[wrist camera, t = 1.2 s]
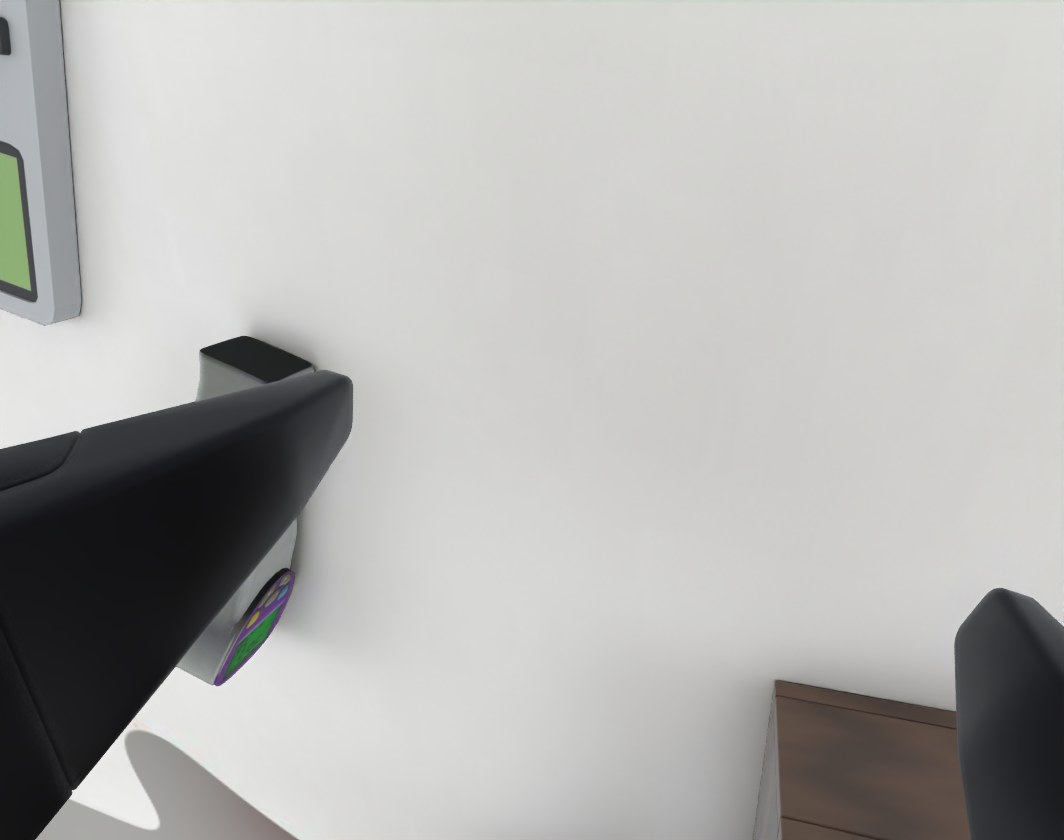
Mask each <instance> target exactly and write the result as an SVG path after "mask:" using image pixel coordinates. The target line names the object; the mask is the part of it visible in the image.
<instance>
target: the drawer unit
mask: <svg viewBox="0 0 1064 840" xmlns="http://www.w3.org/2000/svg"><path fill="white" fill-rule="evenodd" d="M753 840H971V839H970V832H969V826H968V819H967V812H966V806H965V799H964V792H963V786H962V779H961V772H960V764H959V756H958V743H957V717H956V712H950V711H944V710H939V709H933V708H928V707H922V706H917V705H911V704H906V703H900V702H894V701H889V700H883V699H878V698H872V697H867V696H861V695H856V694H850V693H844V692H839V691H833V690H828V689H822V688H817V687H811V686H806V685H800V684H795V683H789V682H783V681H778V680H775V684H774V691H773V698H772V706H771V713H770V720H769V727H768V734H767V741H766V749H765V756H764V763H763V770H762V777H761V784H760V792H759V799H758V806H757V813H756V820H755V827H754V834H753Z"/></svg>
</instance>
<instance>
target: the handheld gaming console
mask: <svg viewBox="0 0 1064 840" xmlns="http://www.w3.org/2000/svg"><path fill="white" fill-rule="evenodd" d="M81 303H82V302H81V288H80V275H79V261H78V248H77V235H76V221H75V208H74V194H73V181H72V167H71V154H70V140H69V127H68V113H67V100H66V86H65V73H64V59H63V46H62V33H61V19H60V6H59V0H0V309H2V310H4V311H7V312H10V313H12V314H15V315H17V316H20V317H23V318H25V319H28V320H31V321H33V322H36V323H39V324H41V325H44V326H45V325H49V324H53V323H56V322H60V321H63V320H67V319H71V318H74V317H76V316H79V314H80V308H81Z"/></svg>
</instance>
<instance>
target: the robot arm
mask: <svg viewBox="0 0 1064 840" xmlns="http://www.w3.org/2000/svg"><path fill="white" fill-rule="evenodd" d="M352 420H353V383H352V381H351V379H350V378H349V377H347V376H344V375H341V374H338V373H335V372H332V371H329V370H321V371H317V372H313V373H309V374H305V375H301V376H297V377H293V378H289V379H285V380H281V381H276V382H272V383H268V384H264V385H260V386H256V387H252V388H248V389H244V390H240V391H236V392H232V393H228V394H224V395H220V396H216V397H212V398H208V399H204V400H200V401H196V402H192V403H188V404H184V405H180V406H176V407H172V408H168V409H164V410H160V411H156V412H151V413H147V414H143V415H139V416H135V417H131V418H127V419H123V420H119V421H115V422H111V423H107V424H103V425H99V426H95V427H91V428H87V429H84V430H82V431H81V433H79V432H78V431H74V432H70V433H66V434H62V435H58V436H54V437H51V438H47V439H42V440H38V441H34V442H29V443H25V444H21V445H16V446H12V447H8V448H4V449H0V840H35V839H36V838H37V837H38V836H39V834H40V833H41V832H42V831H43V829H44V828H45V827H46V826H47V825H48V823H49V822H50V821H51V820H52V818H53V817H54V816H55V815H56V814H57V812H58V811H59V810H60V809H61V807H62V806H63V805H64V804H65V802H66V801H67V800H68V799H69V798H70V796H71V795H72V790H75V789H76V788H77V787H78V786H79V785H80V783H81V782H82V781H83V780H84V778H85V777H86V776H87V775H88V774H89V772H90V771H91V770H92V769H93V767H94V766H95V765H96V764H97V762H98V761H99V760H100V759H101V758H102V756H103V755H104V754H105V753H106V751H107V750H108V749H109V748H110V746H111V745H112V744H113V743H114V742H115V740H116V739H117V738H118V737H119V735H120V734H121V733H122V732H123V731H124V729H125V728H126V727H127V726H128V724H129V723H130V722H131V721H132V719H133V718H134V717H135V716H136V715H137V713H138V712H139V711H140V710H141V708H142V707H143V706H144V705H145V704H146V702H147V701H148V700H149V699H150V697H151V696H152V695H153V694H154V692H155V691H156V690H157V689H158V688H159V686H160V685H161V684H162V683H163V681H164V680H165V679H166V678H167V677H168V675H169V674H170V673H171V672H172V670H173V669H174V668H175V667H176V665H177V664H178V663H179V662H180V661H181V659H182V658H183V657H184V656H185V654H186V653H187V652H188V651H189V649H190V648H191V647H192V646H193V645H194V643H195V642H196V641H197V640H198V638H199V637H200V636H201V635H202V634H203V632H204V631H205V630H206V629H207V627H208V626H209V625H210V624H211V622H212V621H213V620H214V619H215V618H216V616H217V615H218V614H219V613H220V611H221V610H222V609H223V608H224V607H225V605H226V604H227V603H228V602H229V600H230V599H231V598H232V597H233V595H234V594H235V593H236V592H237V591H238V589H239V588H240V587H241V586H242V584H243V583H244V582H245V581H246V580H247V578H248V577H249V576H250V575H251V573H252V572H253V571H254V570H255V568H256V567H257V566H258V565H259V564H260V562H261V561H262V560H263V559H264V557H265V556H266V555H267V554H268V552H269V551H270V550H271V549H272V548H273V546H274V545H275V544H276V543H277V541H278V540H279V539H280V538H281V537H282V535H283V534H284V533H285V532H286V530H287V529H288V528H289V527H290V525H291V524H292V523H293V521H294V520H295V519H296V518H297V516H298V515H299V513H300V512H301V511H302V509H303V508H304V506H305V505H306V503H307V502H308V500H309V499H310V497H311V495H312V494H313V492H314V491H315V489H316V488H317V486H318V484H319V483H320V481H321V480H322V478H323V476H324V475H325V473H326V472H327V470H328V469H329V467H330V465H331V464H332V462H333V461H334V459H335V458H336V456H337V454H338V453H339V451H340V450H341V448H342V447H343V445H344V443H345V442H346V440H347V439H348V437H349V434H350V432H351V428H352ZM954 648H955V683H956V717H957V743H958V756H959V764H960V772H961V779H962V786H963V792H964V799H965V806H966V812H967V819H968V826H969V832H970V839H971V840H1064V627H1063V626H1062V625H1061V624H1060V623H1059V622H1058V621H1057V620H1056V619H1055V618H1054V617H1053V616H1052V615H1051V614H1050V613H1048V612H1047V611H1046V610H1045V609H1044V608H1043V607H1042V606H1041V605H1040V604H1039V603H1038V602H1037V601H1036V600H1034V599H1033V598H1031V597H1028V596H1025V595H1022V594H1019V593H1016V592H1013V591H1010V590H1007V589H1004V588H996V589H993V590H991V591H990V592H989V593H988V594H987V595H986V596H985V597H984V598H983V599H982V601H981V602H980V603H979V604H978V605H977V607H976V608H975V609H974V610H973V611H972V613H971V614H970V615H969V616H968V617H967V619H966V620H965V621H964V622H963V624H962V625H961V626H960V628H959V630H958V632H957V634H956V637H955V646H954Z"/></svg>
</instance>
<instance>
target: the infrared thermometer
mask: <svg viewBox="0 0 1064 840" xmlns="http://www.w3.org/2000/svg"><path fill="white" fill-rule="evenodd" d="M199 359H200V380H199V386H198V391H197V397H196V401H200V400H204V399H208V398H212V397H216V396H220V395H224V394H228V393H232V392H236V391H240V390H244V389H248V388H252V387H256V386H260V385H264V384H268V383H272V382H276V381H281V380H285V379H289V378H293V377H297V376H301V375H305V374H309V373H313V372H314V368H313V366H312V364H311V363H309V362H307V361H305V360H303V359H301V358H299V357H296V356H294V355H292V354H290V353H287V352H285V351H283V350H281V349H278V348H276V347H274V346H271V345H269V344H266V343H264V342H262V341H259V340H257V339H254V338H252V337H248V336H240V337H237V338H233V339H230V340H227V341H223V342H220V343H217V344H214V345H211V346H208V347H205V348H203V349H201V350H200V352H199ZM296 537H297V518H296V519H295V520H294V521H293V523H292V524H291V525H290V527H289V528H288V529H287V530H286V532H285V533H284V534H283V535H282V537H281V538H280V539H279V540H278V541H277V543H276V544H275V545H274V546H273V548H272V549H271V550H270V551H269V552H268V554H267V555H266V556H265V557H264V559H263V560H262V561H261V562H260V564H259V565H258V566H257V567H256V568H255V570H254V571H253V572H252V573H251V575H250V576H249V577H248V578H247V580H246V581H245V582H244V583H243V584H242V586H241V587H240V588H239V589H238V591H237V592H236V593H235V594H234V595H233V597H232V598H231V599H230V600H229V602H228V603H227V604H226V605H225V607H224V608H223V609H222V610H221V611H220V613H219V614H218V615H217V616H216V618H215V619H214V620H213V621H212V622H211V624H210V625H209V626H208V627H207V629H206V630H205V631H204V632H203V634H202V635H201V636H200V637H199V638H198V640H197V641H196V642H195V643H194V645H193V646H192V647H191V648H190V649H189V651H188V652H187V653H186V654H185V656H184V657H183V658H182V659H181V661H180V662H179V663H178V664H177V665H176V667H178V668H180V669H182V670H184V671H186V672H188V673H189V674H191V675H193V676H195V677H197V678H199V679H201V680H203V681H205V682H206V683H208V684H210V685H216V686H220V685H222V684H223V683H225V682H226V681H227V680H228V679H229V678H231V677H232V676H233V675H234V674H235V673H236V672H237V671H238V670H239V669H240V668H241V667H242V666H243V665H244V664H245V663H246V662H247V661H248V660H249V659H250V658H251V657H252V656H253V655H254V654H255V652H256V651H257V650H258V649H259V648H260V647H261V646H262V644H263V643H264V642H265V641H266V639H267V638H268V637H269V635H270V634H271V632H272V631H273V629H274V627H275V626H276V624H277V622H278V620H279V618H280V616H281V614H282V612H283V610H284V608H285V606H286V603H287V601H288V599H289V596H290V594H291V591H292V587H293V584H294V572H293V571H291V570H290V567H291V560H292V555H293V550H294V546H295V541H296Z"/></svg>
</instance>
